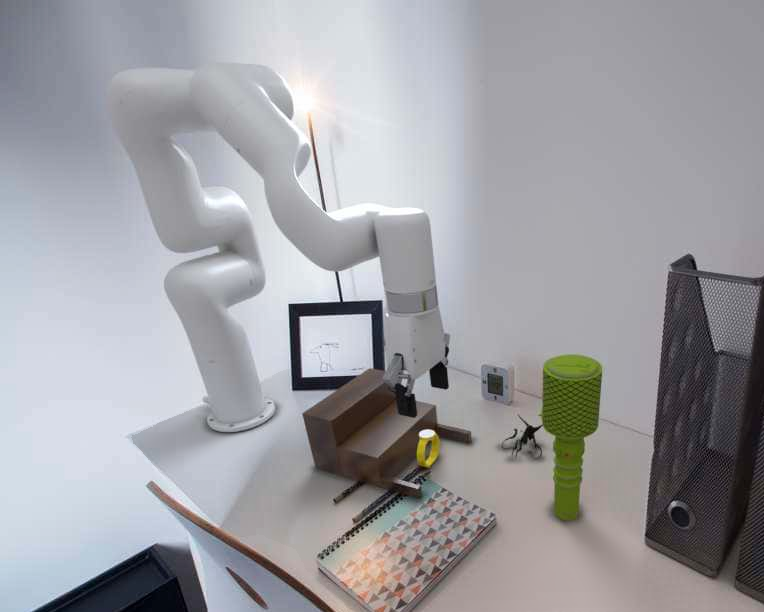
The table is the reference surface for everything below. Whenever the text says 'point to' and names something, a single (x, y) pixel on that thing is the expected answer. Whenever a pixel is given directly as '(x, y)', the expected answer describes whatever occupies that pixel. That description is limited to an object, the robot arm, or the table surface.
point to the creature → (525, 437)
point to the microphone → (570, 422)
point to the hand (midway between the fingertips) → (424, 400)
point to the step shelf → (370, 433)
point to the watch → (424, 438)
